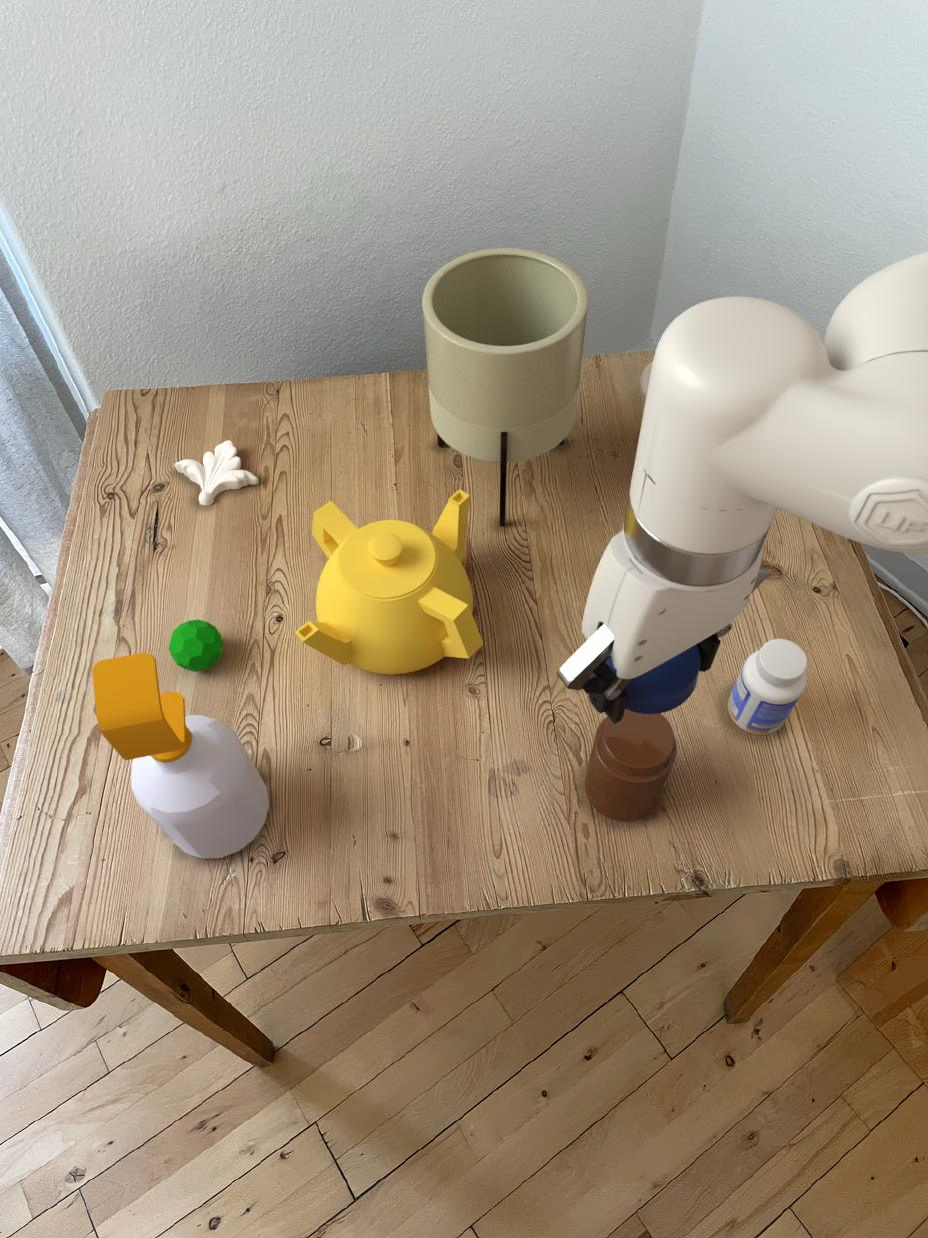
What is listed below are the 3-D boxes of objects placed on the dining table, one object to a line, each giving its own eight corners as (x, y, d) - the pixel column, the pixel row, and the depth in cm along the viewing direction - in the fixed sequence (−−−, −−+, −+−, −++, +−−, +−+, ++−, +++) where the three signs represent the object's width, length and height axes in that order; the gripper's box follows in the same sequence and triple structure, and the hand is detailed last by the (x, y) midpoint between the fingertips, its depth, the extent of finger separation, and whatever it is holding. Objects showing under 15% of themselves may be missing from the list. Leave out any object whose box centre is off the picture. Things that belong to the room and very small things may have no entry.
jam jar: (662, 760, 79) (684, 706, 70) (654, 829, 76) (676, 781, 67) (590, 746, 80) (602, 691, 71) (579, 813, 77) (591, 765, 68)
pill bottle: (796, 708, 82) (830, 656, 74) (764, 747, 80) (795, 698, 72) (746, 674, 84) (774, 619, 76) (714, 712, 82) (739, 659, 74)
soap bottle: (265, 754, 81) (188, 607, 60) (274, 849, 76) (193, 724, 55) (167, 774, 80) (55, 631, 59) (169, 870, 75) (48, 752, 54)
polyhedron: (223, 631, 88) (210, 604, 84) (232, 671, 86) (219, 646, 82) (174, 645, 87) (159, 619, 83) (181, 685, 85) (166, 661, 81)
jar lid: (579, 688, 62) (579, 674, 60) (624, 616, 65) (624, 601, 63) (671, 730, 59) (673, 717, 57) (714, 653, 62) (717, 639, 60)
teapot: (319, 554, 93) (299, 478, 83) (475, 546, 93) (473, 469, 83) (311, 693, 84) (287, 627, 74) (484, 684, 84) (483, 616, 74)
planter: (600, 484, 97) (627, 311, 78) (477, 542, 94) (474, 374, 74) (528, 403, 105) (537, 226, 86) (411, 452, 101) (393, 279, 82)
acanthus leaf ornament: (176, 471, 100) (171, 459, 99) (230, 445, 102) (226, 433, 101) (205, 510, 97) (200, 499, 95) (260, 483, 99) (256, 471, 97)
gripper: (771, 418, 51) (710, 591, 66) (522, 542, 47) (518, 698, 62) (864, 499, 48) (778, 663, 63) (604, 643, 43) (578, 782, 58)
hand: (649, 679), depth 62 cm, fingers closed on jar lid, 7 cm apart
